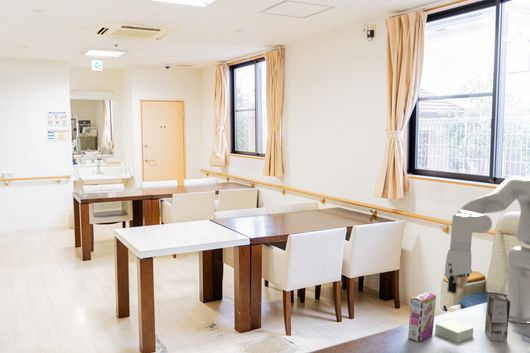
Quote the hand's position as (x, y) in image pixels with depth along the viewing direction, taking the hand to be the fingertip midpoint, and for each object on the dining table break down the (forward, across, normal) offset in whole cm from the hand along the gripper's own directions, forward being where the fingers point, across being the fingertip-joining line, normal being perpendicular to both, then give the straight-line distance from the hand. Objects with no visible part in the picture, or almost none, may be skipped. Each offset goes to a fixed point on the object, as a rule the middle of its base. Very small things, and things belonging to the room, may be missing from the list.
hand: (456, 290), depth 195 cm
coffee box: (+18, -14, +8) cm, 24 cm away
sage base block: (+18, 0, 0) cm, 18 cm away
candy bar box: (+18, +14, -4) cm, 23 cm away
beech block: (+1, 0, 0) cm, 1 cm away
